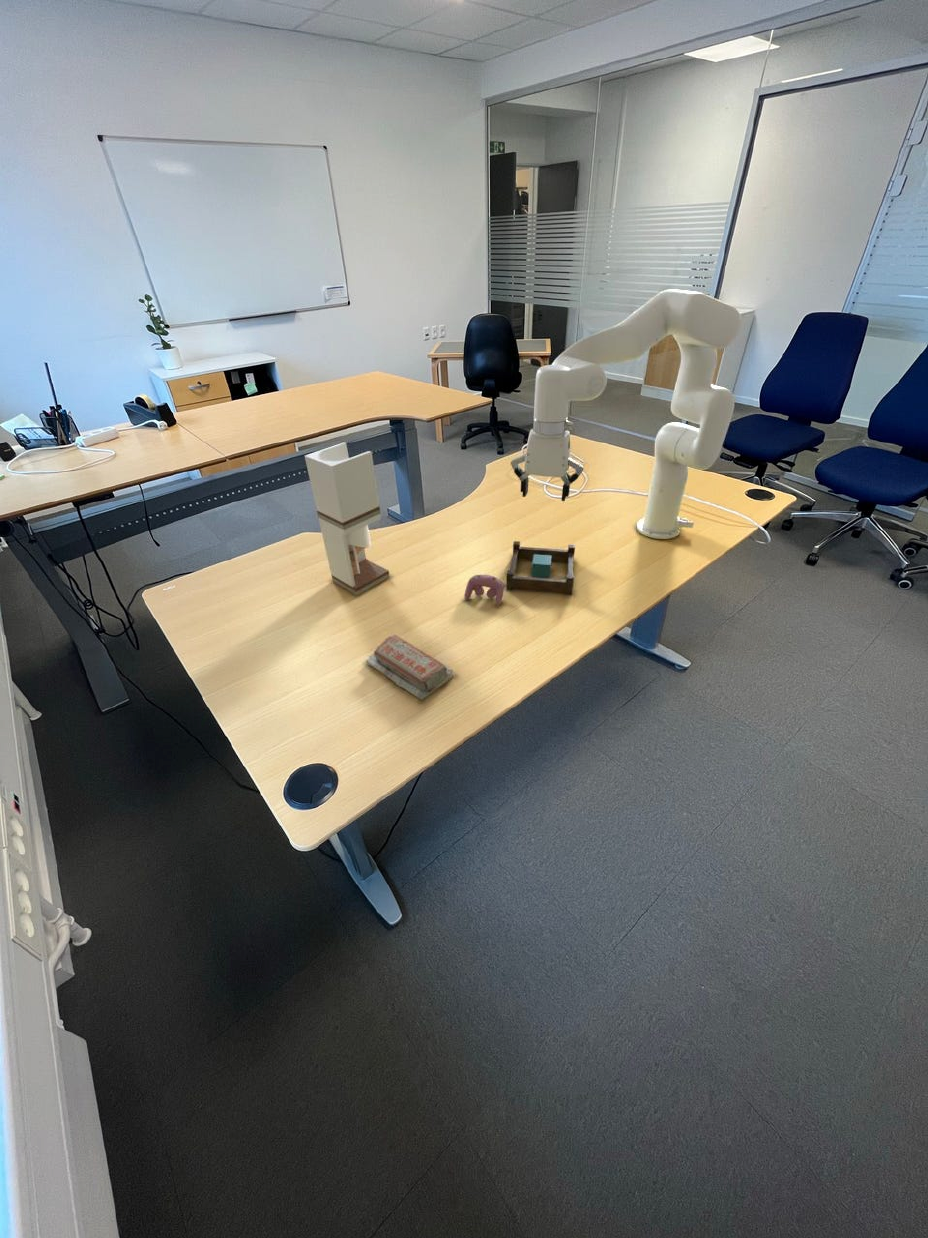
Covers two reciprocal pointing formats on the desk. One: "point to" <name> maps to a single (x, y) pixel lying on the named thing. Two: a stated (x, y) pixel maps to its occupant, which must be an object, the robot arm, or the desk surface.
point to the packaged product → (409, 667)
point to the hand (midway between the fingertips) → (544, 496)
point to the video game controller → (486, 581)
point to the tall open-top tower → (346, 514)
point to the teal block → (541, 566)
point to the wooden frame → (541, 583)
